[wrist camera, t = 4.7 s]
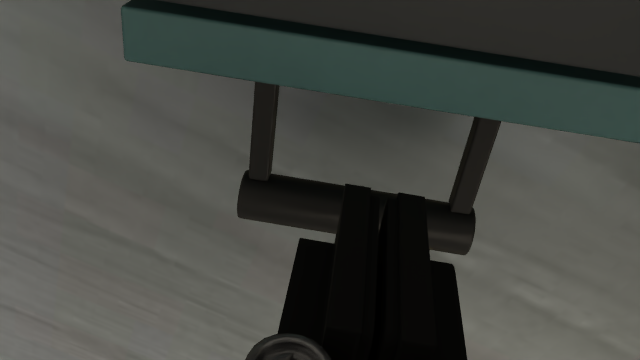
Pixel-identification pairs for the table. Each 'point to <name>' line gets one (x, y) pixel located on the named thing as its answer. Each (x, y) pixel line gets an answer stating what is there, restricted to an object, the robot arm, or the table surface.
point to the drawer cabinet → (478, 25)
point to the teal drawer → (375, 99)
